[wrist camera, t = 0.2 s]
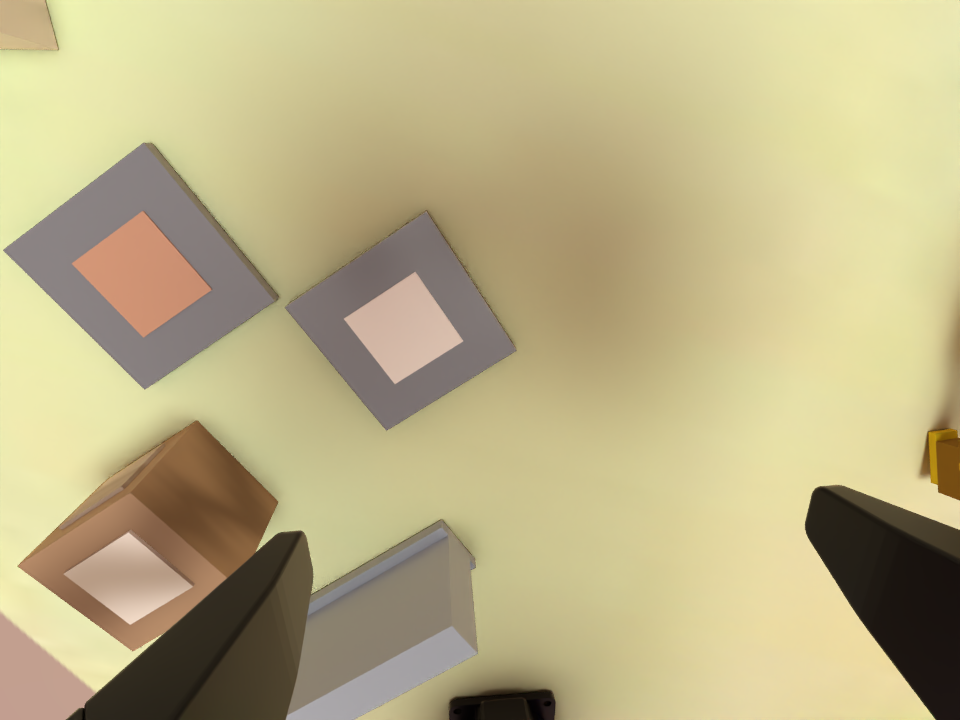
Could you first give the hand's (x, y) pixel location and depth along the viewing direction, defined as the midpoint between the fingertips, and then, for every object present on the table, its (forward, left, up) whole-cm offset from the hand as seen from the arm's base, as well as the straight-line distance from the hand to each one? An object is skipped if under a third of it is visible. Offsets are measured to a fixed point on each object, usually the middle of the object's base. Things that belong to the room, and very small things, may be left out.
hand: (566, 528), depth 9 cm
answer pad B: (+2, +14, -14) cm, 20 cm away
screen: (-16, +7, -14) cm, 22 cm away
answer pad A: (-1, +4, -14) cm, 15 cm away
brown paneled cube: (-9, +14, -14) cm, 22 cm away
